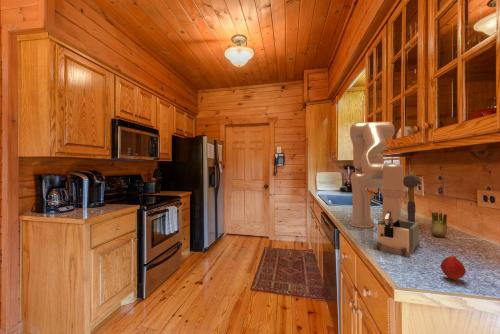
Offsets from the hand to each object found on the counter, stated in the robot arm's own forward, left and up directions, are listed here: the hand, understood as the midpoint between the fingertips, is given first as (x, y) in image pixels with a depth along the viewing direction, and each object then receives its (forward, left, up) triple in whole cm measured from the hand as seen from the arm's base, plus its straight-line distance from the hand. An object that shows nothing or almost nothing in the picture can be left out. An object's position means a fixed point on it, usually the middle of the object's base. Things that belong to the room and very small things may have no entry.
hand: (392, 234), depth 98 cm
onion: (+14, +20, -7) cm, 26 cm away
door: (0, 0, -7) cm, 7 cm away
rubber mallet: (-46, -2, -7) cm, 46 cm away
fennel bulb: (-36, +11, -7) cm, 38 cm away
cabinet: (-6, 0, -7) cm, 9 cm away
